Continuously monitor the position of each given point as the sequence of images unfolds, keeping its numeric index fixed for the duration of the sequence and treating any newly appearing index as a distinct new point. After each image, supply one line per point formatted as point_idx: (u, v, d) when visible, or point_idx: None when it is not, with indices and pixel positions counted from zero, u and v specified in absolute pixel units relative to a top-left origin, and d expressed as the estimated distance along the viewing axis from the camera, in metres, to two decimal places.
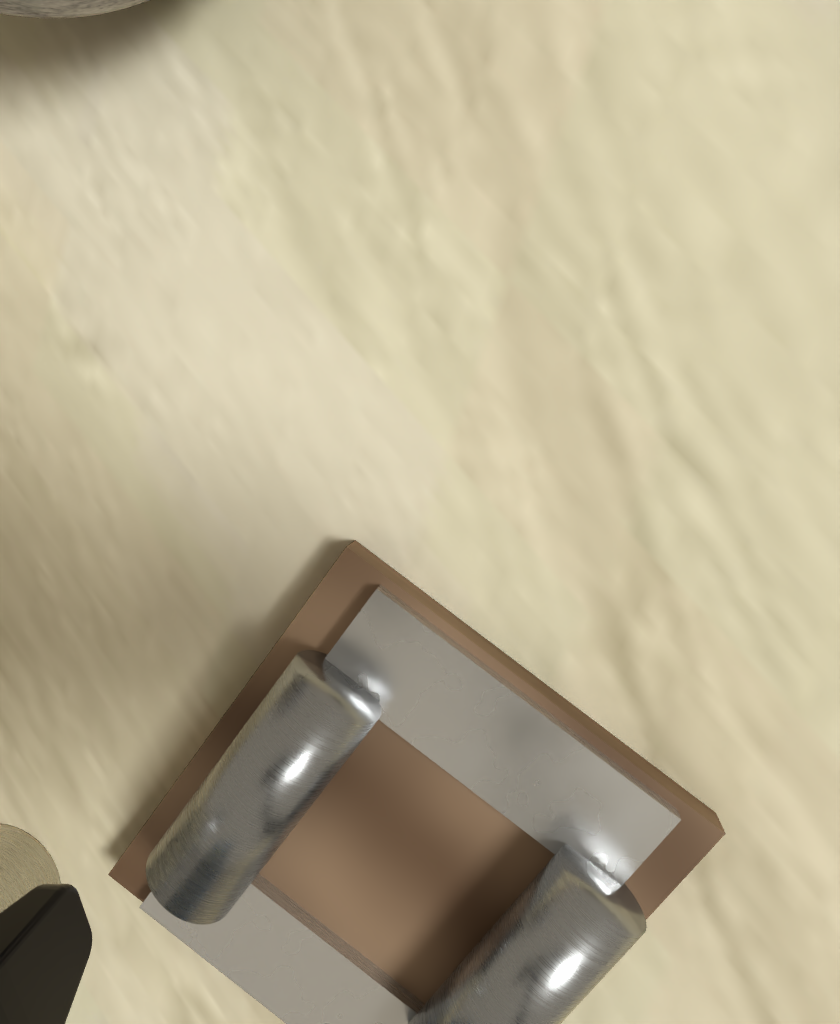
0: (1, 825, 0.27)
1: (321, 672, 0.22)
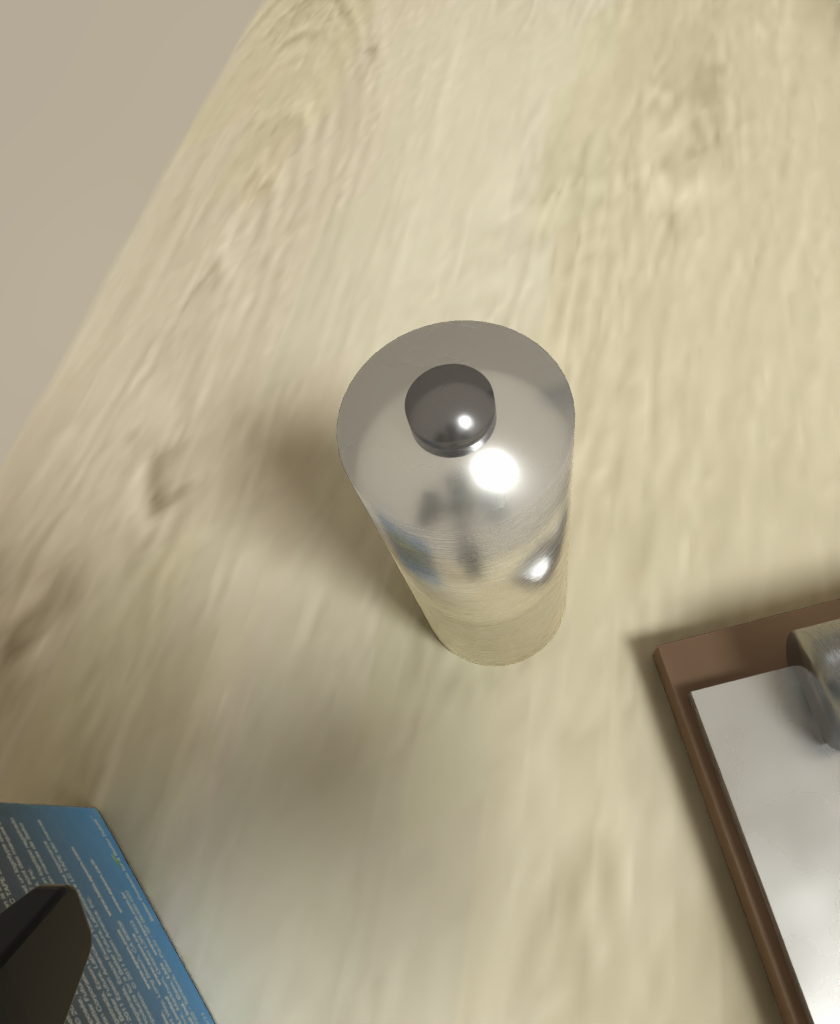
0: None
1: None
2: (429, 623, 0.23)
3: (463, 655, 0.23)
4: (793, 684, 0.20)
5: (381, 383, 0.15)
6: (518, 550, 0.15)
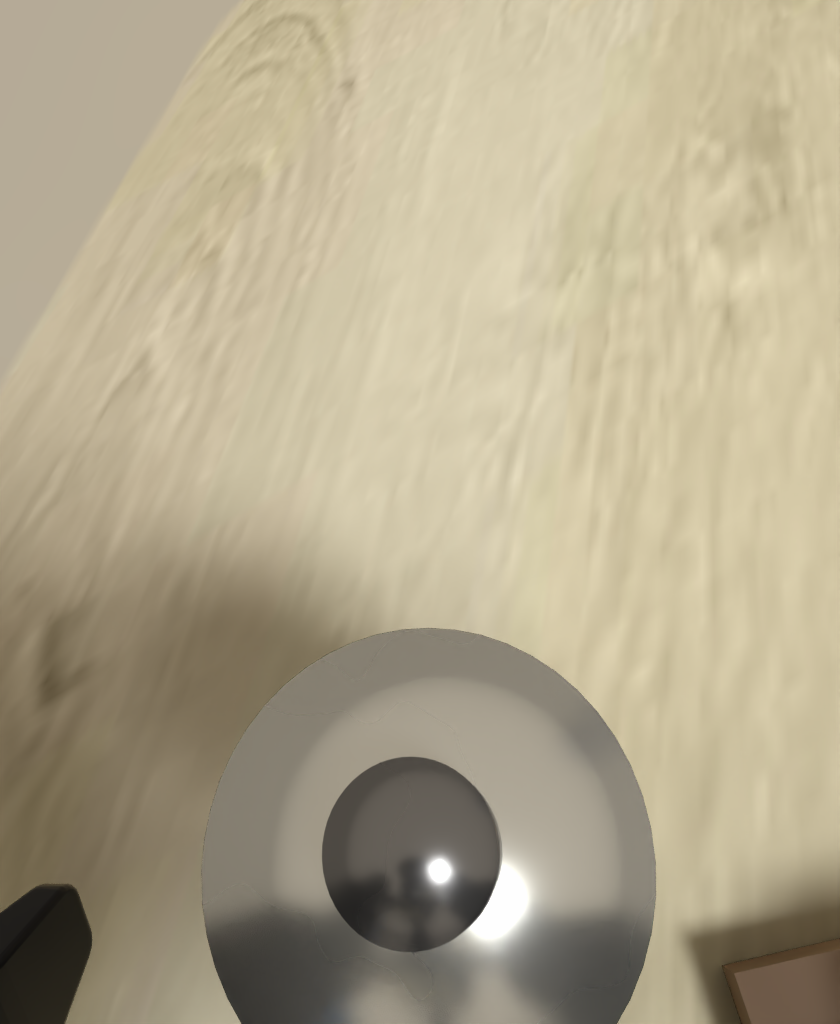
0: None
1: None
2: None
3: None
4: None
5: (289, 754, 0.08)
6: None
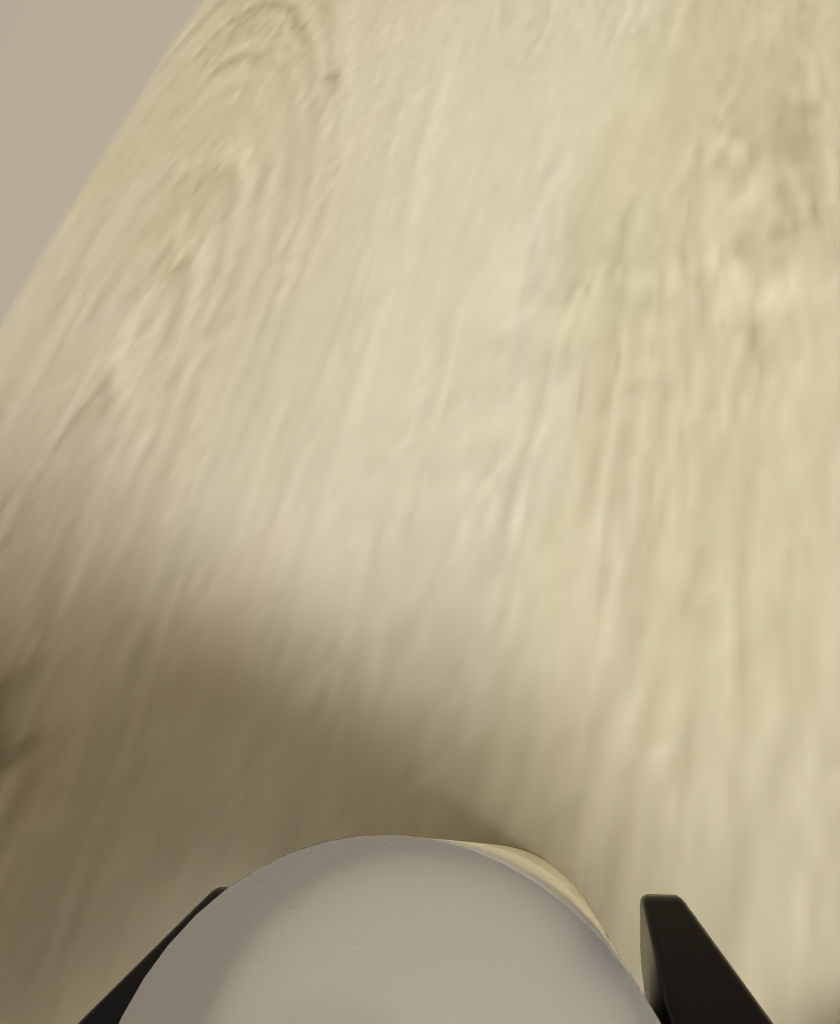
0: (566, 878, 0.15)
1: None
2: None
3: None
4: None
5: None
6: None
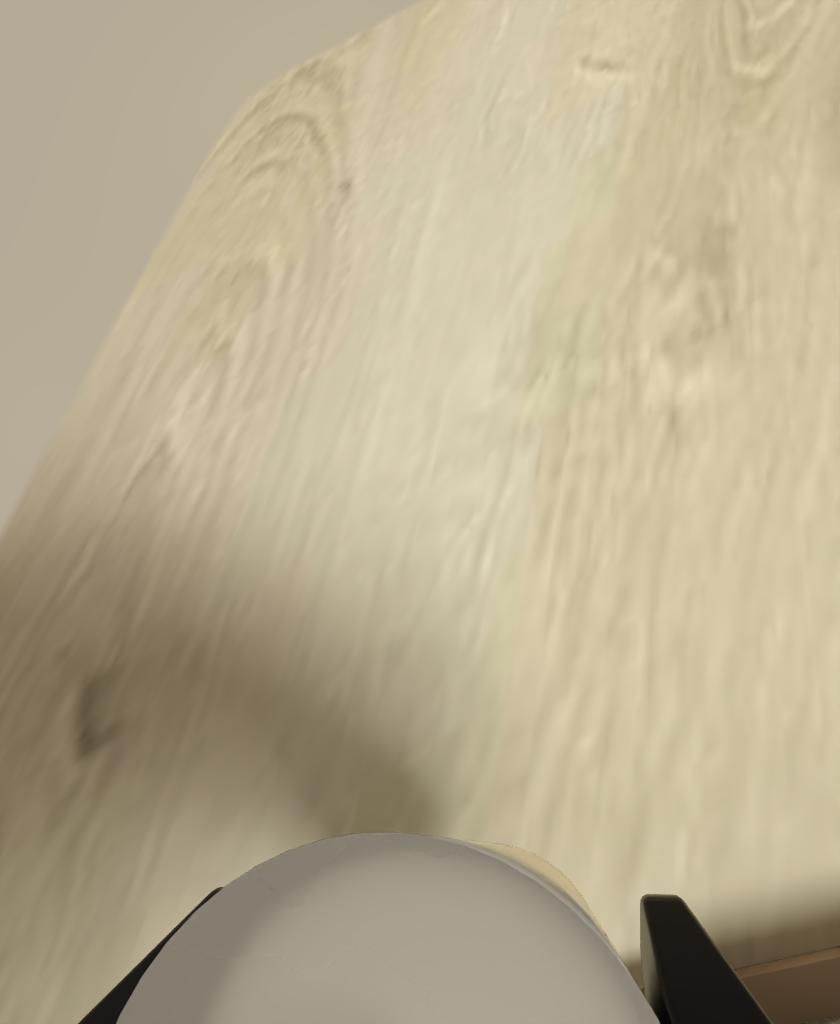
0: None
1: None
2: None
3: None
4: None
5: (199, 1020, 0.06)
6: None
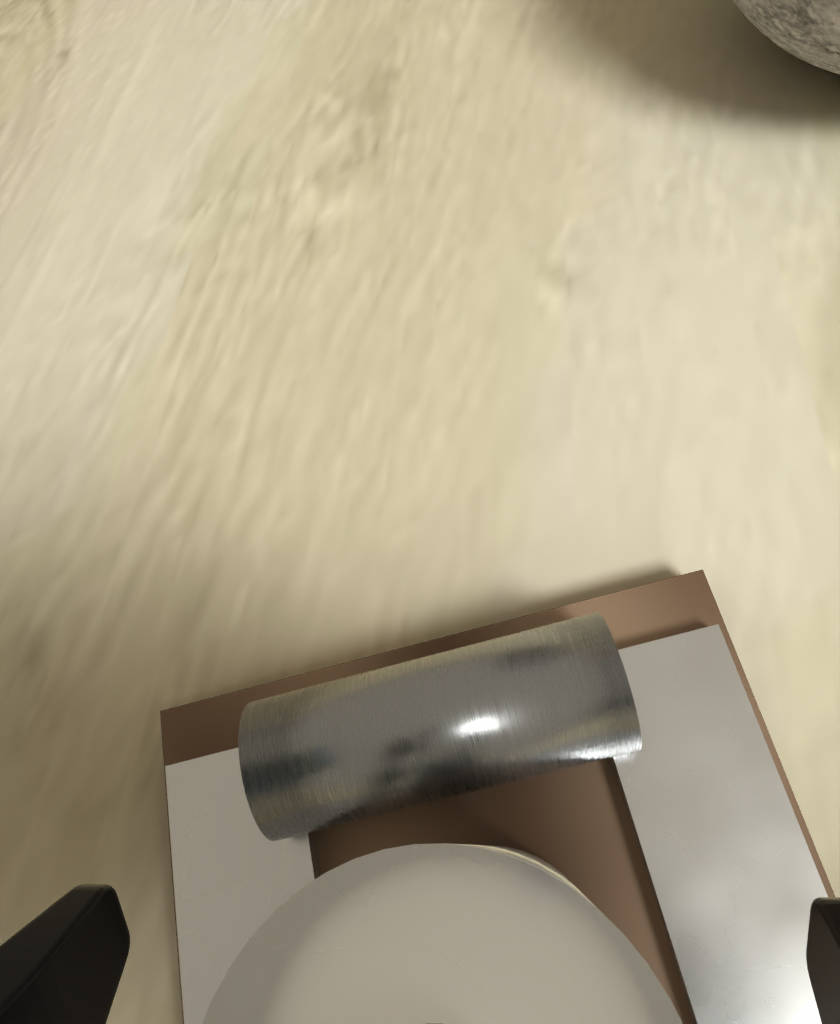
0: None
1: None
2: None
3: None
4: None
5: (281, 1005, 0.07)
6: None
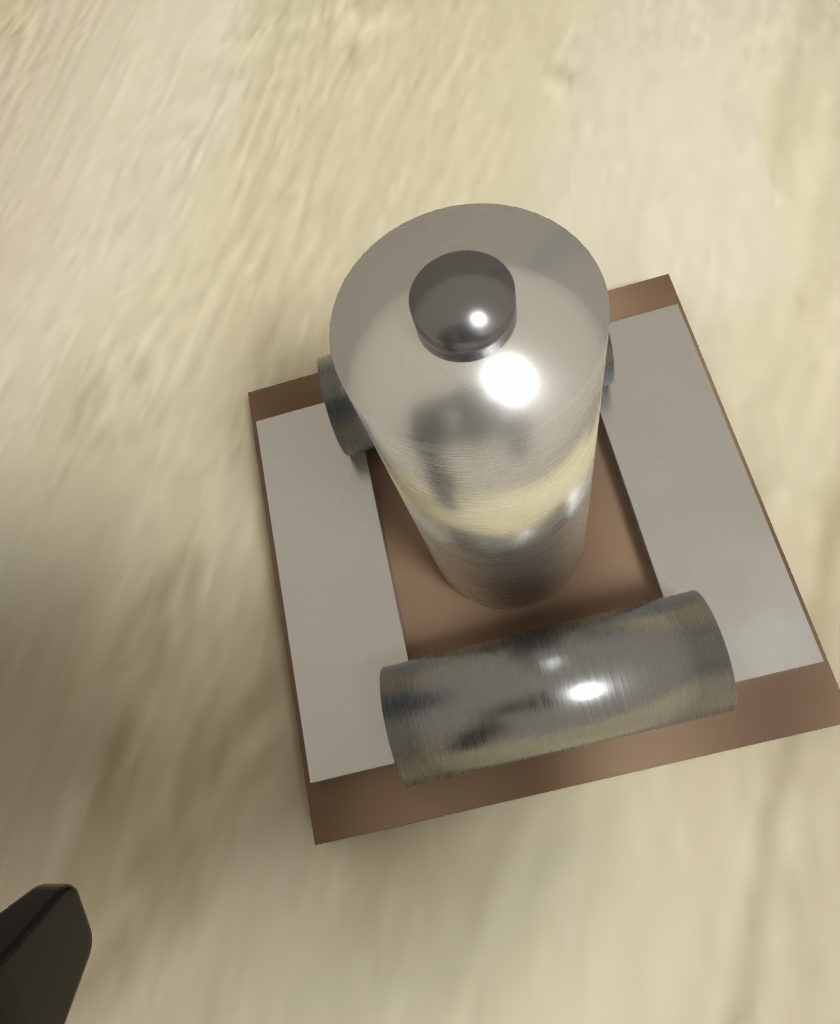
0: None
1: None
2: (436, 563, 0.21)
3: (473, 598, 0.21)
4: None
5: (382, 277, 0.13)
6: (539, 473, 0.13)
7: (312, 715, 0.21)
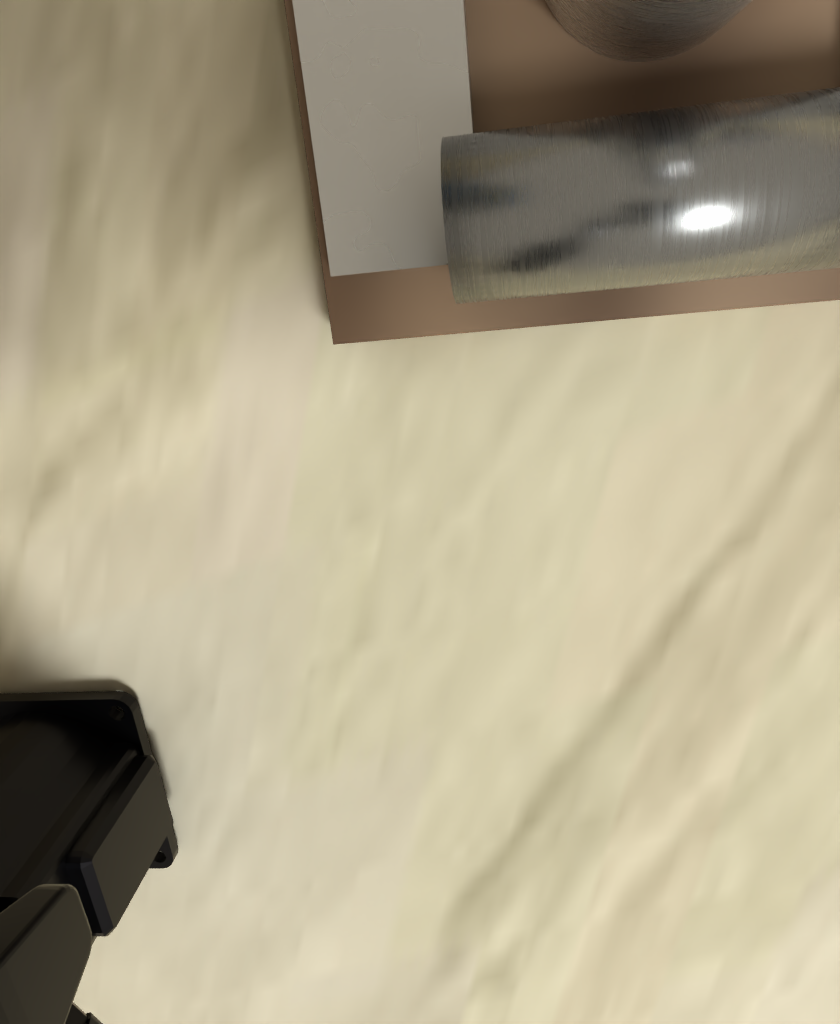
0: None
1: None
2: None
3: (581, 36, 0.14)
4: None
5: None
6: None
7: (334, 188, 0.16)
